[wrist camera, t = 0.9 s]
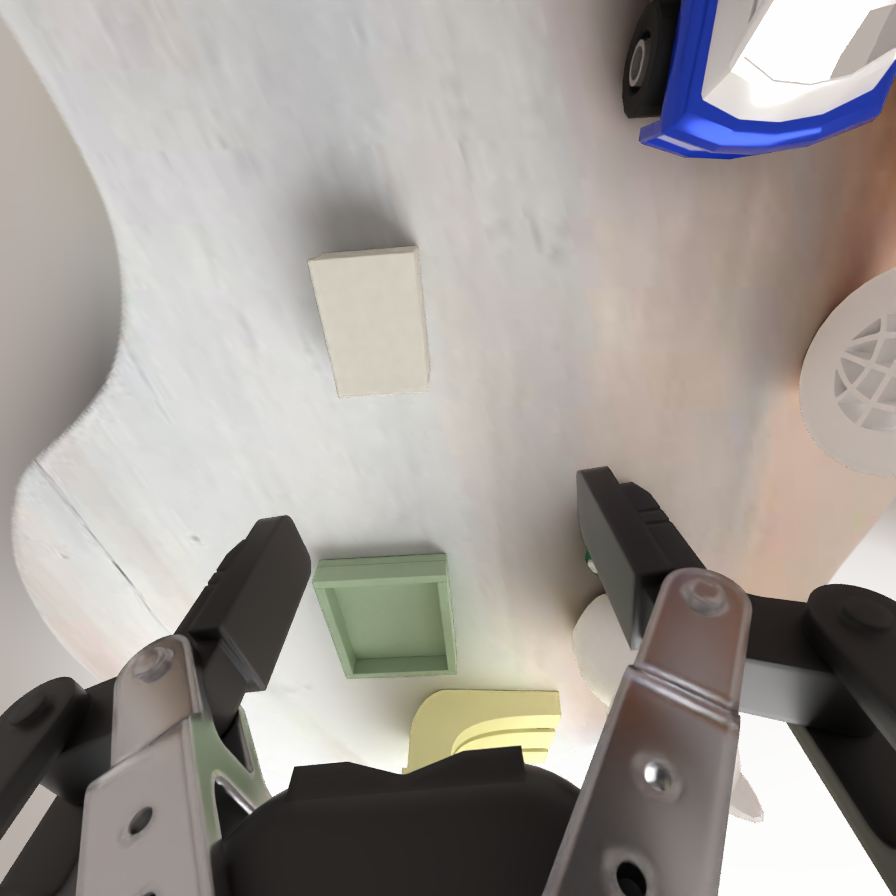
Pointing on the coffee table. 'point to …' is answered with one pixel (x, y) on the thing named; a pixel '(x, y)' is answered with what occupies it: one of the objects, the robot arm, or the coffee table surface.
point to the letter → (855, 380)
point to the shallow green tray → (389, 615)
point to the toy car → (757, 73)
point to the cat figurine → (603, 668)
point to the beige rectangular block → (373, 320)
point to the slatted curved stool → (482, 724)
